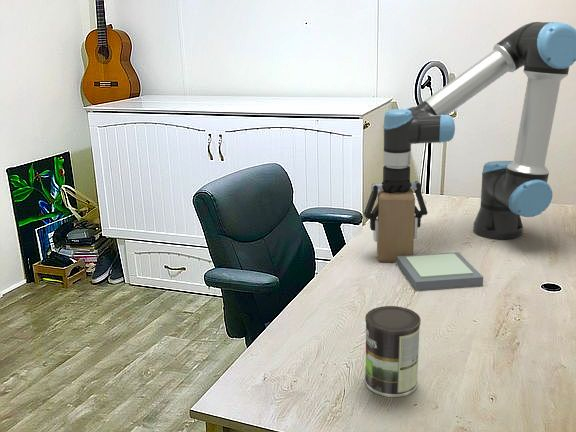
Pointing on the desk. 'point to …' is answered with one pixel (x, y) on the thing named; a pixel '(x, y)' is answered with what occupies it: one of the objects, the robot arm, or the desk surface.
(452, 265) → the plinth
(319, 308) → the desk surface
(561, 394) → the desk surface
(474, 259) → the desk surface
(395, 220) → the wooden block
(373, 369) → the coffee can
